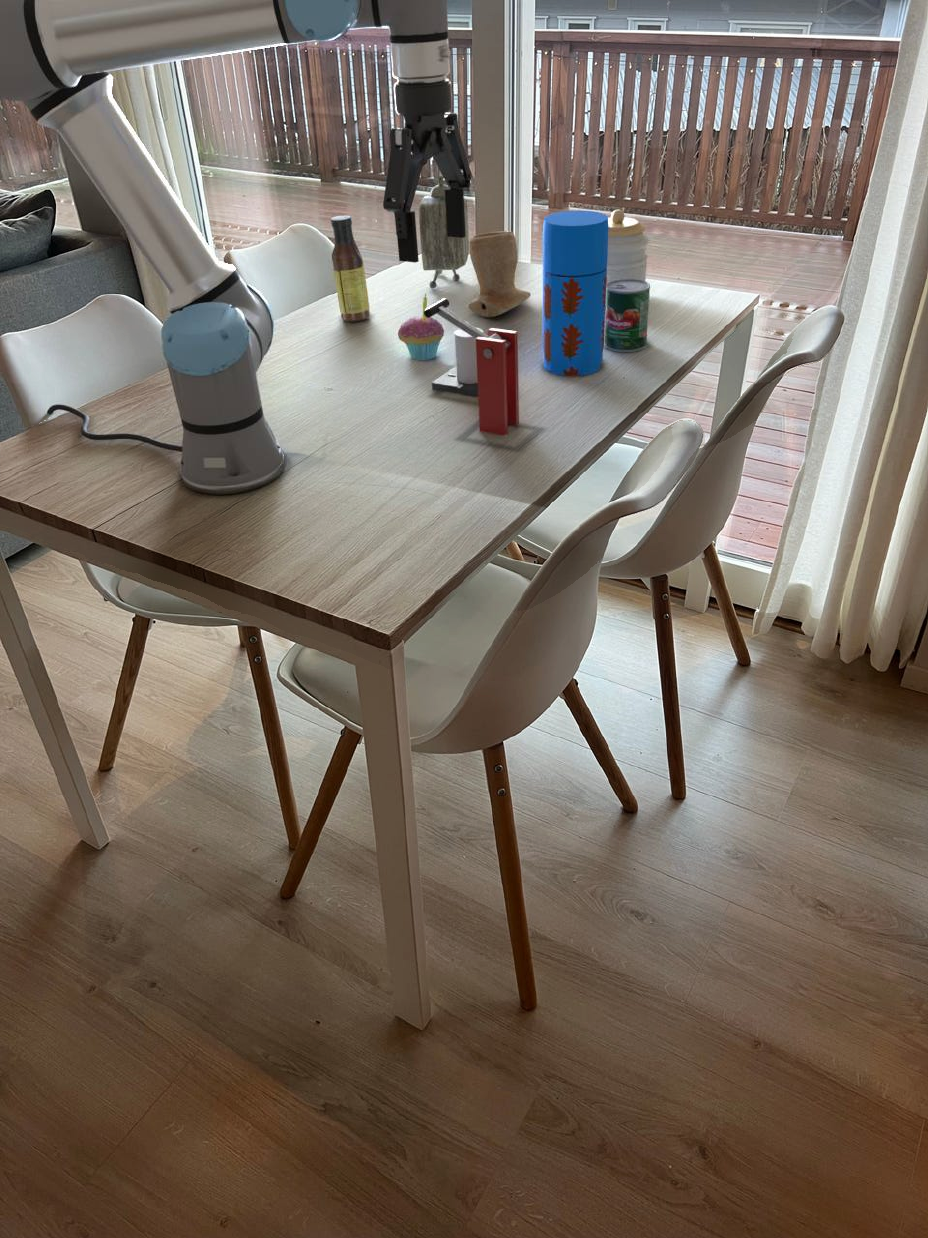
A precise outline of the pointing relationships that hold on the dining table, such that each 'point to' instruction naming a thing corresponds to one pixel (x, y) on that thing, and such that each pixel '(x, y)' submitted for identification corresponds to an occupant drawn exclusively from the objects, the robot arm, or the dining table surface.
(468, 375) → the knob
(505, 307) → the tan piece
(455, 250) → the tabletop clock
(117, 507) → the dining table surface
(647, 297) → the canned tomato
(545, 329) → the thermos
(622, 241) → the jar
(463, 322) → the lever
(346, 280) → the sauce bottle
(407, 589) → the dining table surface
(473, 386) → the dial panel
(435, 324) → the cupcake
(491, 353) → the red lever stand
